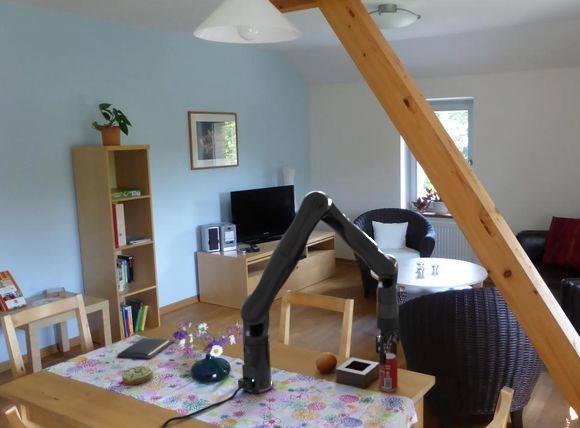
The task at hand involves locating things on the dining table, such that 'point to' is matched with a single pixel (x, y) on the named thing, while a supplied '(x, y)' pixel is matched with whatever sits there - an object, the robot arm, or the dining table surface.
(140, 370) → the decorated donut
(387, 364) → the beverage can
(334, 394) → the dining table surface
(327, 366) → the fruit
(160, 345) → the dark grey book
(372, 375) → the can holder
